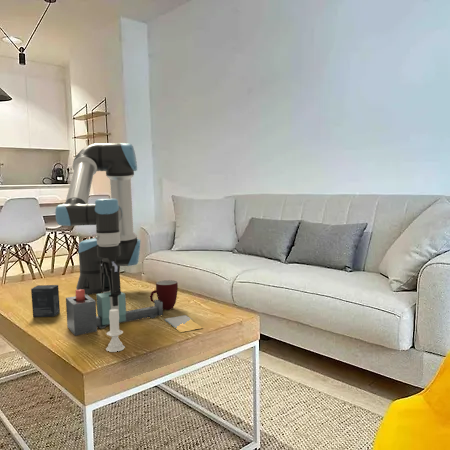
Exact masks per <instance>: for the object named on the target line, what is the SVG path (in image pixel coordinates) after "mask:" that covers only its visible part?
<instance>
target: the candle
mask: <svg viewBox="0 0 450 450" xmlns="http://www.w3.org/2000/svg"><path fill="white" fill-rule="evenodd" d="M109 320H110V325H109V331H107V332H106V333H105V334H106V335H107V336H108V337H110V341H109V342H108V345H107V347H106V348H105V350H106V352H108V351H109V352H110V353H116V352H117V351H118V352H121V351H123V350H124V348H125V349H126V346H125V345H123V342H122V341H121V340H120V338H119V336H121V335H122V334H123V333H124V331H123V330H121V329H120V323H119V311H118V309H112V310H110V311H109ZM118 352H117V353H118Z"/></svg>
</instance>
